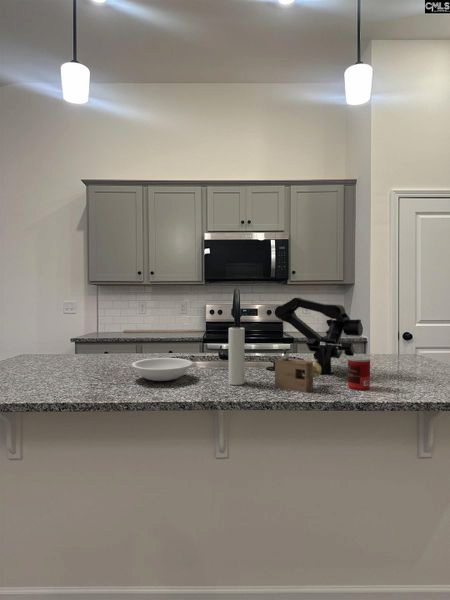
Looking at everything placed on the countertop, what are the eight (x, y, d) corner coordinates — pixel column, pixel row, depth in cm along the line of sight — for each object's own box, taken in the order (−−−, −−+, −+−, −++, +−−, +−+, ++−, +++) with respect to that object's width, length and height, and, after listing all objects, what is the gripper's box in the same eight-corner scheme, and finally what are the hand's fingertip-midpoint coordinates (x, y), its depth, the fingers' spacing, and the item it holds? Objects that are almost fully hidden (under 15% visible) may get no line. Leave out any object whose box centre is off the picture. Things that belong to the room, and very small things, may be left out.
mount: (283, 383, 148) (283, 357, 147) (314, 388, 140) (314, 361, 140) (274, 387, 142) (275, 360, 142) (305, 392, 135) (306, 364, 134)
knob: (307, 375, 148) (307, 360, 148) (321, 377, 144) (321, 362, 144) (298, 378, 142) (299, 363, 142) (313, 380, 138) (313, 365, 138)
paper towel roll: (239, 386, 143) (239, 328, 142) (225, 384, 146) (225, 327, 146) (248, 382, 149) (248, 327, 149) (235, 380, 152) (235, 326, 152)
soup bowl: (205, 379, 154) (205, 362, 154) (156, 390, 137) (156, 372, 136) (167, 370, 171) (167, 355, 170) (119, 379, 153) (119, 363, 153)
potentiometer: (280, 359, 142) (280, 348, 142) (286, 359, 143) (286, 348, 143) (283, 360, 140) (283, 349, 140) (289, 360, 141) (289, 349, 141)
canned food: (369, 386, 144) (369, 356, 144) (370, 391, 137) (370, 360, 136) (347, 384, 147) (348, 355, 146) (347, 389, 139) (347, 359, 139)
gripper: (361, 347, 161) (352, 378, 152) (318, 342, 172) (308, 372, 164) (355, 330, 154) (345, 362, 146) (311, 326, 165) (300, 356, 157)
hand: (324, 364), depth 153 cm, fingers closed
